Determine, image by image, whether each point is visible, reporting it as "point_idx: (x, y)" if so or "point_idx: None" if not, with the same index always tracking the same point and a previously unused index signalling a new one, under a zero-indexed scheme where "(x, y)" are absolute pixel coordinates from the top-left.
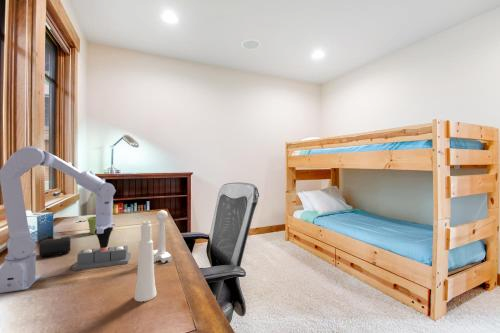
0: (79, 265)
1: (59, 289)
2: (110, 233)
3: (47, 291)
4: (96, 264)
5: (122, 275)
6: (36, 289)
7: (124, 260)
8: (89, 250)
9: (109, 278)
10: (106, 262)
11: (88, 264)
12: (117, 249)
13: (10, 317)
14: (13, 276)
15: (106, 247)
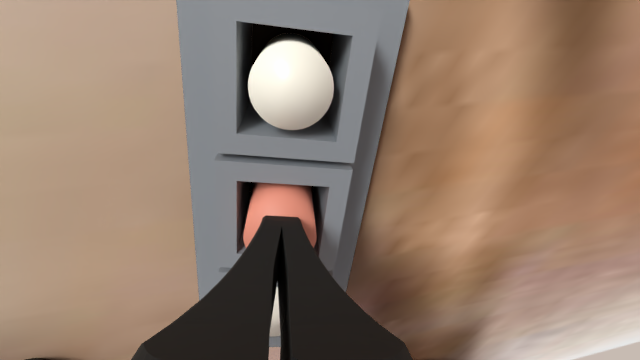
0: (339, 281)
1: (536, 283)
2: (234, 304)
3: (523, 310)
4: (363, 206)
5: (605, 31)
6: (477, 340)
7: (393, 21)
8: (275, 308)
9: (585, 109)
10: (365, 155)
11: (346, 245)
12: (325, 107)
13: (632, 336)
14: None
15: (305, 216)
